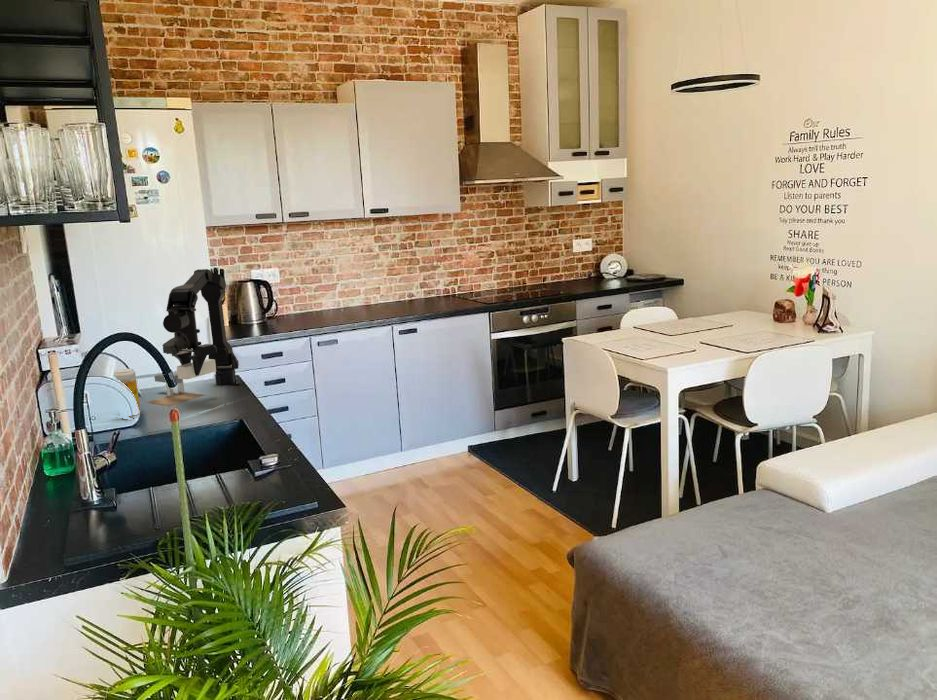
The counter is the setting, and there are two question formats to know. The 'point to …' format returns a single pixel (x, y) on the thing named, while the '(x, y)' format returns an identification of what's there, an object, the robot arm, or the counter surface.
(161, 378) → the clamp bar
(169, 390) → the bolt bracket
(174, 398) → the walnut board
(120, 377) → the beer glass
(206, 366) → the block
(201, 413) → the counter surface
